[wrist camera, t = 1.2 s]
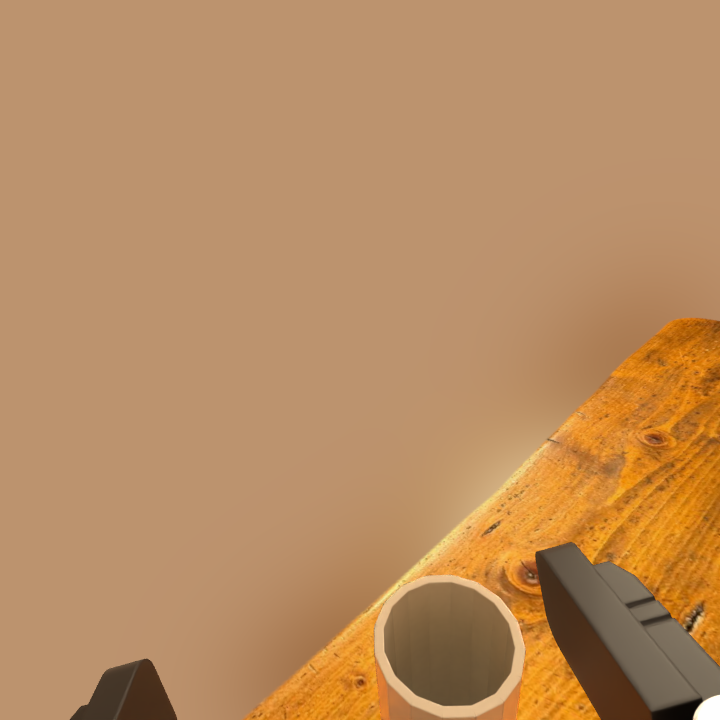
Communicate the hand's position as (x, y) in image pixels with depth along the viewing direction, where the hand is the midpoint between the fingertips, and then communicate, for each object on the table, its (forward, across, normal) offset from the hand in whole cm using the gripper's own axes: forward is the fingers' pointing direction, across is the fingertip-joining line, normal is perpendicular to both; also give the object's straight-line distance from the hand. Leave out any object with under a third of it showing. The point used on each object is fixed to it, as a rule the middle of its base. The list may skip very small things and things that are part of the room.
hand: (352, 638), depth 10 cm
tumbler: (+11, -1, +19) cm, 22 cm away
